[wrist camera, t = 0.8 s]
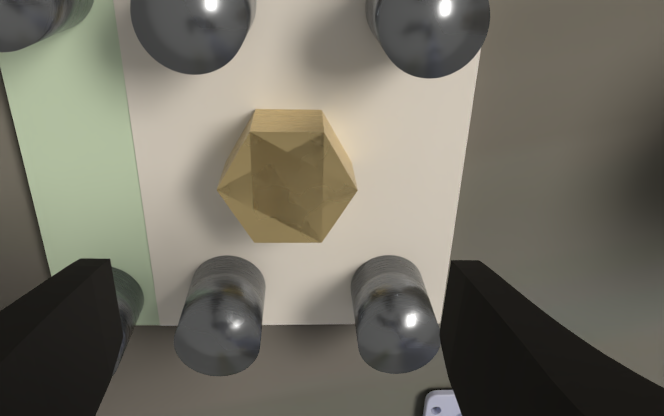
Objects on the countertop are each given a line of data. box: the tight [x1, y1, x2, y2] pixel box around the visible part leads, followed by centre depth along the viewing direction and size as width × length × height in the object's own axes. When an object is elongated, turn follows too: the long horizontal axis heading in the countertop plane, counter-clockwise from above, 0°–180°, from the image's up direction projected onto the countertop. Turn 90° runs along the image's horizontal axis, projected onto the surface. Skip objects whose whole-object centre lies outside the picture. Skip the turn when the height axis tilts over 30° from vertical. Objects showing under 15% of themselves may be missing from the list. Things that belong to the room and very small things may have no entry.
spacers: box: [0, 0, 490, 376], centre depth 18 cm, size 15×14×4 cm
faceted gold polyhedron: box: [217, 109, 358, 243], centre depth 19 cm, size 4×5×2 cm
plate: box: [0, 0, 481, 326], centre depth 20 cm, size 15×16×1 cm
